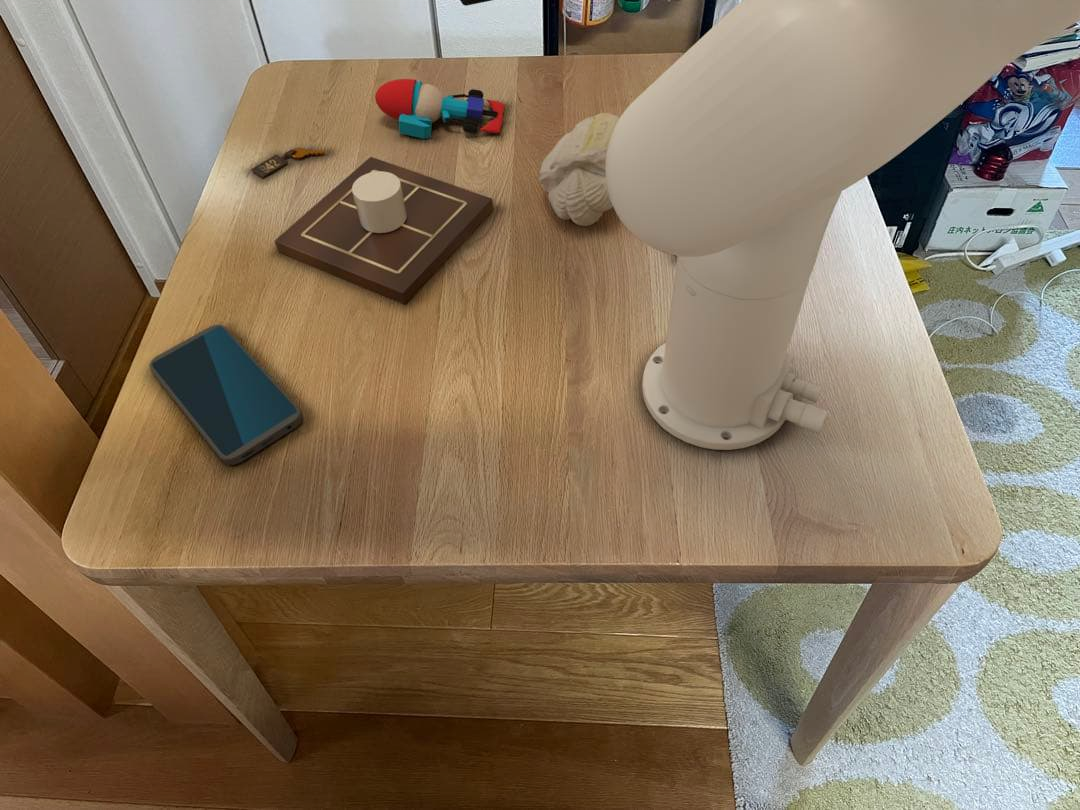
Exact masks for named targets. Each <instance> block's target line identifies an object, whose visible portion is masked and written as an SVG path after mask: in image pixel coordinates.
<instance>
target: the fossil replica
mask: <svg viewBox="0 0 1080 810" xmlns="http://www.w3.org/2000/svg"><path fill="white" fill-rule="evenodd" d="M619 119H620V117H619V116H618V115H614V114H612V113H610V112H600V113H598V114H596V115H594V116H593V115H592V116H589V117H587V118H584V119H583V120H581V121H579V122H578V123H577V124H576V125H575V126H574V127H573V129H572V130H571V131H570V132H568V133H565V134H564V135H563V136H562V138H560V139H559V140H558V141H557V142H556V145H555V146H554V147H553V148H552V150H551V151H549V153H548V154H547V155H546V156H545V157H544V159H543V161H542V162H541V163H540V169H539V170H540V171H539V179H538V182H539V183H540V185H542V188H543V189H544V191H546V192H547V193H548V195H547V199H548V201H549V203H550V205H551V206H552V209H553V210H554V213H555V214H556V215H557V217H558V218H559V219H562V220H564V221H570V220H571V221H572V222H573V223H574V224H576V225H578V226H586V227H587V226H588V227H589V226H591V225H592V224H594V223H597V222H599V219H600V217H603V214H604V212H607V211H609V210H611V209H612V208H614V207H613V205H612V202H611V200H610V196H609V193H608V188H607V183H606V168H605V166H606V155H607V149H608V145H609V141H610V138H611V135H612V132H613V130H614V128H615V126H616V124H617V122H618V120H619Z"/></svg>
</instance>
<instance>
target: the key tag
mask: <svg viewBox="0 0 1080 810" xmlns="http://www.w3.org/2000/svg"><path fill="white" fill-rule="evenodd" d="M325 153H326V151H325V150H309V148H308V149H305V148H303V147H296V148H293V149H290V150H288V151H286V152H284V153H283V155H281V156H280V155H278V154H275V155H273V156H271V157H269V158H268V159H266V160H265V161H262V162H261V163H259V164H257V165H255V166H254V167H252V168H251V169H250V171H251V172H252V173H254V174H256V175H257V176H259V177H260V178H263V179H264V178H265V177H267V176H268V175H270V174H272V173H273V172H275V171H277V170H278V169H280V168H282V167H284V166H286V165H287V164H288V163H289V161H288V160H286V159H287V158H289V157H292V158H294V159H302V158H304V157H305V156H307V157H309V155H311V156H313V155H315V156H318V155H324V154H325Z"/></svg>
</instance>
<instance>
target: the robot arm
mask: <svg viewBox="0 0 1080 810" xmlns="http://www.w3.org/2000/svg"><path fill="white" fill-rule="evenodd" d="M459 1H460V3H461V4H462V5H463V6H472V5H478V4H481V3H487V2H491V1H493V0H459ZM1078 22H1080V0H742V1H740V2H739V3H737V5H735V6H734V7H733V8H732V9H731V10H730V11H729V12H728V13H726V14H725V15H724V16H723V17H722V18H721V19H720V20H718V22H717V23H715V25H713V26H712V27H711V28H710V29H709V30H708V31H707V32H706V33H704V35H703V36H701V38H700V39H698V41H696V42H695V43H694V44H693V45H692V46H691V47H690V48H689V49H688V50H687V51H685V53H684V54H682V55H681V56H680V57H679V58H678V59H677V60H676V61H675V62H673V64H672V65H671V66H670V67H668V68H667V69H666V70H665V71H664V72H662V74H661V75H660V76H659V77H657V78H656V80H655V81H653V82H652V83H651V84H650V85H649V86H648V87H647V88H646V89H645V90H644V91H642V92H641V94H639V96H637V97H636V98H635V99H634V100H633V101H632V102H631V103H630V104H629V105H628V107H627V108H625V110H624V111H623V113H622V114H621V115H620V117H619V118H620V119H619V120H618V122H617V124H616V126H615V128H614V130H613V132H612V135H611V138H610V141H609V145H608V149H607V155H606V166H605V168H606V183H607V188H608V193H609V196H610V200H611V202H612V205H613V207H612V208H613V210H614V211H615V213H616V215H617V217H618V219H619V220H620V221H621V223H622V224H623V225H624V227H625V228H626V229H627V230H628V231H629V233H631V234H632V235H633V236H634V237H635V238H637V240H639V241H640V242H642V243H643V244H645V245H646V246H648V247H651V249H654V250H656V251H659V252H662V253H664V254H667V255H670V256H676V263H675V270H674V277H673V286H672V294H671V299H670V300H671V301H670V309H669V317H668V325H667V331H666V339H665V342H664V343H662V344H661V345H660V346H658V347H657V348H656V350H654V352H653V353H652V354H651V355H650V357H649V358H648V360H647V362H646V364H645V367H644V370H643V373H642V380H641V381H642V382H641V390H642V398H643V400H644V403H645V406H646V409H647V410H648V412H649V413H650V415H651V417H652V418H653V419H654V420H655V422H656V423H657V424H658V425H659V426H660V427H661V428H662V429H663V430H665V431H666V432H668V433H669V434H670V435H672V436H673V437H675V438H676V439H679V440H680V441H683V442H685V443H687V444H689V445H693V446H696V447H699V448H704V449H708V450H709V449H710V450H714V451H715V450H717V451H718V450H719V451H720V450H723V451H731V450H739V449H740V450H741V449H745V448H749V447H752V446H755V445H758V444H760V443H761V442H764V441H766V440H767V439H769V438H770V437H771V436H773V435H774V434H775V433H777V432H778V430H780V428H781V427H782V426H783V424H784V423H785V422H786V421H787V422H788V421H789V422H791V423H794V424H796V425H797V426H798V427H800V428H802V429H805V430H808V431H810V432H813V433H816V434H818V435H820V433H821V431H822V429H823V427H824V425H825V422H826V420H827V418H828V415H829V411H827V410H825V409H822V408H820V407H817V406H815V405H812V404H810V403H804V402H801V401H798V400H796V399H794V395H795V396H797V397H800V398H801V399H804V400H807V401H809V402H812V403H814V404H817V403H818V400H819V399H820V397H821V393H822V392H823V387H822V386H818V385H816V384H813V383H810V382H806V381H804V380H800V379H798V378H796V374H795V373H793V372H790V371H791V367H792V365H793V361H794V358H795V357H794V355H793V354H790V353H788V350H789V348H790V343H791V340H792V337H793V334H794V331H795V328H796V324H797V321H798V317H799V315H800V311H801V307H802V304H803V301H804V298H805V295H806V292H807V288H808V285H809V282H810V279H811V275H812V273H813V271H814V267H815V264H816V262H817V258H818V254H819V252H820V249H821V246H822V243H823V239H824V236H825V234H826V231H827V228H828V226H829V222H830V219H831V218H832V215H833V213H834V210H835V207H836V205H837V203H838V201H839V200H840V196H841V194H842V192H843V191H844V190H845V191H846V190H847V189H848V188H850V187H852V186H853V185H855V184H857V183H858V182H860V181H861V180H863V179H864V178H867V177H868V176H869V175H871V174H872V173H874V172H875V171H876V170H878V169H880V168H881V167H882V166H884V165H886V164H887V163H888V162H890V161H891V160H892V159H894V158H895V157H897V156H898V155H900V154H901V153H902V152H903V151H904V150H906V149H908V147H910V146H911V145H912V144H914V143H915V142H916V141H917V140H919V138H921V137H922V136H923V135H925V134H926V133H927V132H929V131H930V130H931V129H932V128H933V127H934V126H936V125H937V124H938V123H940V121H942V120H943V119H945V118H946V117H947V116H948V115H949V114H951V113H953V111H954V110H955V109H957V108H958V107H959V106H961V105H962V104H963V103H964V102H965V101H967V100H968V98H970V97H971V96H972V95H973V94H974V93H976V91H978V90H979V89H980V88H981V87H982V86H983V85H984V84H986V82H988V81H989V80H990V79H991V78H993V77H994V76H995V75H996V74H997V73H999V72H1000V71H1001V70H1003V69H1004V68H1005V67H1006V66H1008V65H1009V64H1011V63H1012V62H1014V61H1015V60H1017V59H1018V58H1019V57H1021V56H1023V55H1024V54H1026V53H1027V52H1029V51H1030V50H1032V49H1035V48H1036V47H1037V46H1039V45H1040V44H1042V43H1044V42H1046V41H1047V40H1049V39H1050V38H1052V37H1054V36H1055V35H1057V34H1059V33H1061V32H1063V31H1064V30H1066V29H1068V28H1069V27H1072V26H1073V25H1075V24H1076V23H1078Z"/></svg>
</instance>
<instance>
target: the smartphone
mask: <svg viewBox="0 0 1080 810" xmlns="http://www.w3.org/2000/svg"><path fill="white" fill-rule="evenodd" d="M149 368H150V371H151V373H152V374H153V376H154V377H155V378H156V380H157V381H158V382H159V384H160V385H161V386H162V388H163V389H164V390H165V391H166V393H168V395H169V397H170V398H172V400H173V401H174V402H175V403H176V404H177V406H178V407H179V408H180V410H181V411H182V412H183V413H184V415H185V416H186V417H187V419H188V420H189V421H190V422H191V424H192V425H193V426H194V427H195V429H196V430H197V431H198V432H199V434H200V435H201V436H202V438H203V439H204V440H205V441H206V443H207V444H208V445H209V446H210V448H211V449H212V450H213V451H214V453H215V454H216V455H217V456H218V457H219V459H220V460H221V461H222V462H223V463H225V464H226V465H228V466H229V465H230V466H231V465H232V466H234V465H237V464H239V463H242V462H244V461H246V460H248V459H249V458H251V457H252V456H253V455H255V454H257V453H258V452H260V451H261V450H263V449H265V448H266V447H267V446H269V445H270V444H272V443H274V442H276V441H278V440H279V439H280V438H282V437H284V436H285V435H287V434H288V433H290V432H292V431H293V430H294V429H296V428H298V426H299V425H300V424H301V423H302V422H303V417H304V416H303V413H302V411H301V409H300V406H298V405H297V404H296V403H295V401H294V400H293V399H292V398H291V397H290V396H289V395H288V394H287V393H286V392H285V390H284V389H283V388H282V387H281V386H280V385H279V384H278V383H277V381H276V380H274V378H273V377H272V376H271V375H270V373H268V372H267V371H266V370H265V368H264V367H263V366H262V365H261V364H260V362H258V361H257V360H256V359H255V357H254V356H252V354H251V353H250V352H249V351H248V350H247V349H246V348H245V346H244V345H243V344H242V343H241V342H240V341H239V340H238V339H237V338H236V337H235V336H234V335H233V333H232V332H230V330H229V329H228V328H227V327H225V326H224V325H222V324H214V325H211V326H209V327H207V328H204V329H203V330H201V331H200V332H197V333H196V334H194V335H192V336H191V337H189V338H187V339H185V340H182V341H181V342H180V343H178V344H176V345H174V346H172V347H170V348H169V349H166V350H165V351H163V352H162V353H160V354H158V355H156V356H154V358H153V359H151V361H150V362H149Z"/></svg>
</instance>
